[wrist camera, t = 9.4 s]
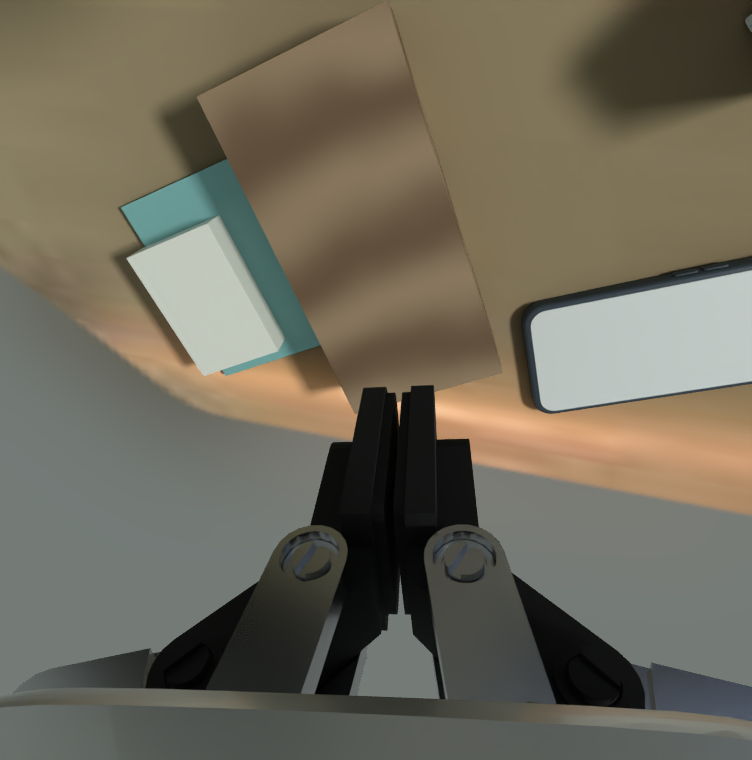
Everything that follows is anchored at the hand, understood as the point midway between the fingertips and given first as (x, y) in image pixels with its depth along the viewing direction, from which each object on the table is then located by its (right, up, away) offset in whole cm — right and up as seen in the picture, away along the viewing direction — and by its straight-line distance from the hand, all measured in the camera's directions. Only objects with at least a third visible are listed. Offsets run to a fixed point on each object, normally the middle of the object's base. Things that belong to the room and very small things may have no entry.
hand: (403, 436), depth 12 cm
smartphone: (+18, +4, +22) cm, 28 cm away
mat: (-10, +8, +22) cm, 25 cm away
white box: (-12, +6, +20) cm, 24 cm away
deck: (-1, +11, +19) cm, 22 cm away
